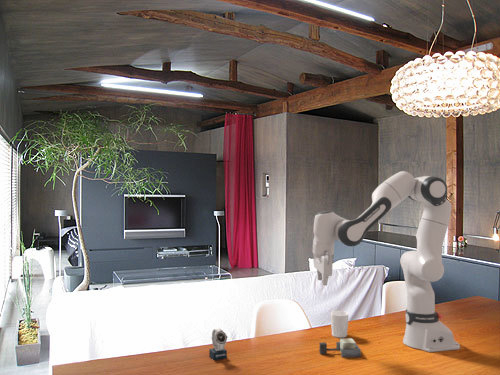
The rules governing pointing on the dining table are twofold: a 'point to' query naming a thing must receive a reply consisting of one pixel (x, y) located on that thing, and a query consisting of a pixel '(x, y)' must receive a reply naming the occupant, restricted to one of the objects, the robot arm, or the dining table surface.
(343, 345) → the hammer
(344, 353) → the dark grey tray
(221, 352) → the watch
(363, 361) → the dining table surface
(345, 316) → the white cup
